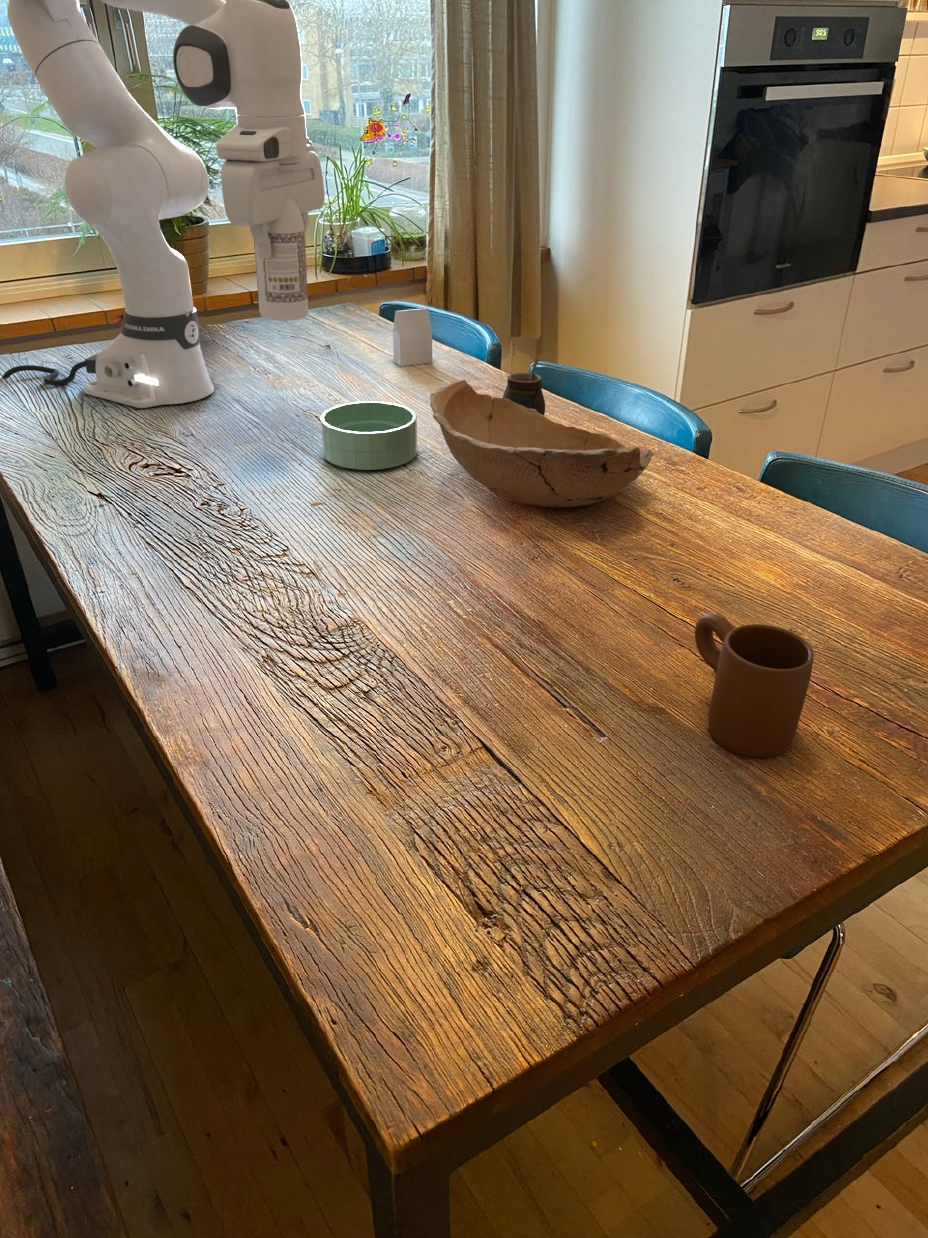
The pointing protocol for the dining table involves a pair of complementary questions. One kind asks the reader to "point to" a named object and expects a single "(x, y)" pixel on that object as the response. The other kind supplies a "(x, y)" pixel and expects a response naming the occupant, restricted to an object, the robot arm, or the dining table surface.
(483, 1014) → the dining table surface
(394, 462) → the green pet bowl
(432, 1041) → the dining table surface
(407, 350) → the white boxy piece
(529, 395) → the mate gourd
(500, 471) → the ceramic bowl
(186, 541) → the dining table surface
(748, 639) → the mug
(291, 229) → the bath foam
